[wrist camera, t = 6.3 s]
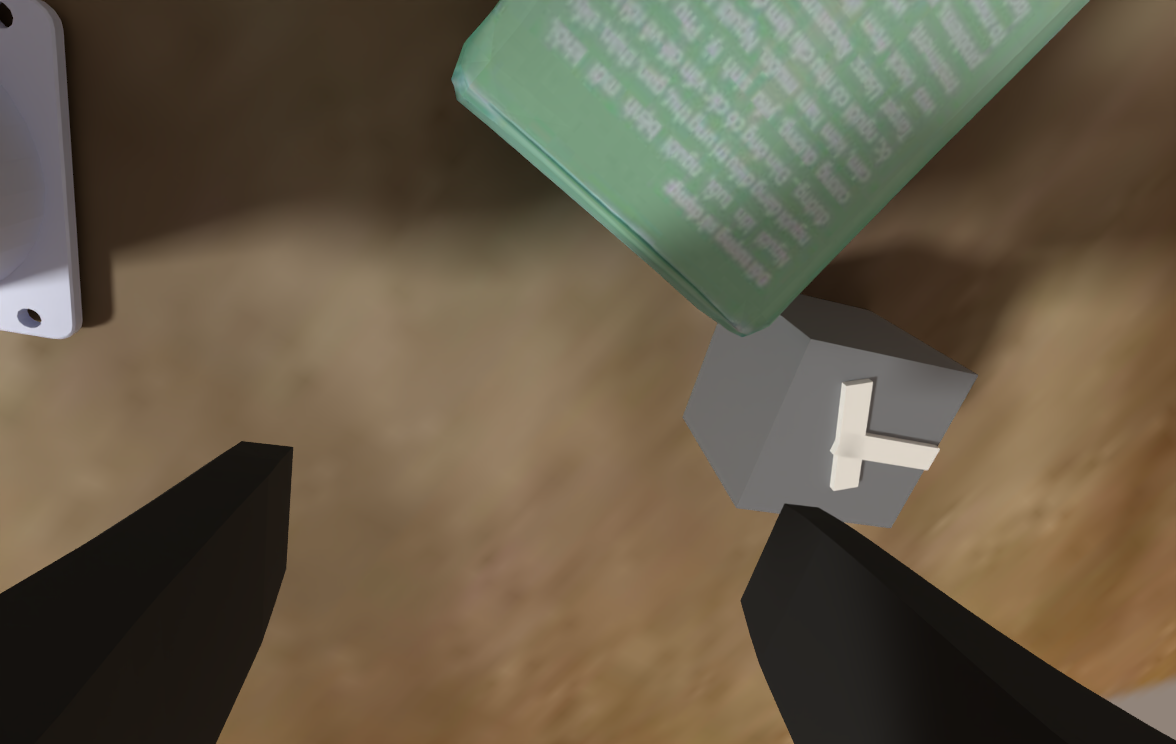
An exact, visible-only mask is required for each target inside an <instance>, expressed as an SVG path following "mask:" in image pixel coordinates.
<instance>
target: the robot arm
mask: <svg viewBox="0 0 1176 744" xmlns="http://www.w3.org/2000/svg"><path fill="white" fill-rule="evenodd" d="M1 3H4V4H5V5H6V6H7V7H8V8H9V9H10V10H11V13H12V16H13V22H12V25H11V26H10V27H6V26H5V25H4V24H3V23H2V22H1V21H0V330H2V331H9V332H15V333H21V334H27V335H34V336H40V337H46V338H52V339H64V338H67V337H70V336H72V335H73V334H75V333H76V332H78V330H79V329H80V328H81V327H82V321H83V320H82V304H81V289H80V274H79V259H78V243H77V228H76V213H75V198H74V182H73V167H72V152H71V137H70V121H69V106H68V91H67V76H66V60H65V45H64V30H63V26H62V22H61V19H60V18H59V16H58V15H57V13H56V12H55V10H54V9H53V8H51V7H50V6H49V5H48V4H47V3H46V2H44V1H42V0H0V4H1ZM28 309H31V310H34V311H35V312H36V313H38V314H39V315H40V318H41V320H42V321H41V322H38V321H35V320H33V319H32V318H31V317H30V316H29V314H28V311H27V310H28ZM292 459H293V447H288V446H279V445H271V444H262V443H253V442H244V441H241V442H240V443H238V444H237V445H235V446H234V447H232V448H231V449H229V450H227V451H226V452H224V453H223V454H221V455H220V456H218V457H217V458H215V459H214V460H212V461H211V462H209V463H208V464H206V465H205V466H203V467H202V468H200V469H199V470H197V471H196V472H194V473H193V474H191V475H190V476H188V477H187V478H185V479H184V480H182V481H181V482H179V483H178V484H176V485H175V486H173V487H172V488H170V489H169V490H167V491H166V492H164V493H163V494H161V495H160V496H158V497H157V498H155V499H154V500H152V501H151V502H149V503H148V504H146V505H145V506H143V507H142V508H140V509H139V510H137V511H135V512H134V513H132V514H131V515H129V516H128V517H126V518H125V519H123V520H121V521H120V522H118V523H117V524H115V525H114V526H112V527H111V528H109V529H107V530H106V531H104V532H103V533H101V534H100V535H98V536H96V537H95V538H93V539H92V540H90V541H89V542H87V543H85V544H84V545H82V546H81V547H79V548H77V549H75V550H74V551H72V552H70V553H69V554H67V555H65V556H64V557H62V558H60V559H58V560H57V561H55V562H53V563H52V564H50V565H48V566H47V567H45V568H43V569H41V570H40V571H38V572H36V573H35V574H33V575H31V576H30V577H28V578H26V579H25V580H23V581H21V582H19V583H18V584H16V585H14V586H13V587H11V588H9V589H8V590H6V591H4V592H2V593H1V594H0V744H216V742H217V740H218V737H219V735H220V733H221V731H222V729H223V727H224V724H225V722H226V720H227V718H228V716H229V714H230V712H231V709H232V707H233V705H234V703H235V701H236V698H237V696H238V694H239V692H240V690H241V687H242V685H243V683H244V681H245V679H246V677H247V674H248V672H249V670H250V668H251V666H252V663H253V661H254V659H255V657H256V654H257V652H258V650H259V648H260V646H261V643H262V641H263V638H264V635H265V632H266V629H267V626H268V623H269V620H270V617H271V614H272V611H273V608H274V605H275V602H276V599H277V595H278V592H279V589H280V586H281V583H282V580H283V577H284V574H285V571H286V562H287V544H288V527H289V510H290V493H291V476H292ZM741 604H742V608H743V611H744V615H745V618H746V622H747V626H748V629H749V633H750V636H751V639H752V643H753V646H754V649H755V652H756V655H757V658H758V661H759V664H760V667H761V669H762V671H763V674H764V676H765V679H766V681H767V683H768V685H769V688H770V690H771V692H772V695H773V697H774V699H775V701H776V704H777V706H778V708H779V711H780V713H781V715H782V717H783V720H784V722H785V724H786V726H787V728H788V731H789V733H790V735H791V737H792V740H793V742H794V744H1176V740H1174V739H1172V738H1170V737H1169V736H1167V735H1165V734H1163V733H1161V732H1160V731H1158V730H1156V729H1154V728H1153V727H1151V726H1149V725H1148V724H1146V723H1144V722H1142V721H1141V720H1139V719H1137V718H1136V717H1134V716H1132V715H1131V714H1129V713H1127V712H1126V711H1124V710H1122V709H1121V708H1119V707H1117V706H1116V705H1114V704H1112V703H1111V702H1109V701H1107V700H1106V699H1104V698H1102V697H1101V696H1099V695H1097V694H1096V693H1094V692H1092V691H1091V690H1089V689H1087V688H1086V687H1084V686H1082V685H1081V684H1079V683H1077V682H1076V681H1074V680H1073V679H1071V678H1069V677H1068V676H1066V675H1065V674H1063V673H1062V672H1060V671H1058V670H1057V669H1055V668H1054V667H1052V666H1051V665H1049V664H1047V663H1046V662H1044V661H1043V660H1041V659H1040V658H1038V657H1037V656H1035V655H1034V654H1032V653H1031V652H1029V651H1028V650H1026V649H1025V648H1023V647H1022V646H1020V645H1019V644H1017V643H1016V642H1014V641H1013V640H1011V639H1010V638H1008V637H1007V636H1005V635H1004V634H1002V633H1001V632H999V631H998V630H996V629H995V628H993V627H992V626H990V625H989V624H988V623H986V622H985V621H983V620H982V619H980V618H979V617H977V616H976V615H974V614H973V613H972V612H970V611H969V610H967V609H966V608H964V607H963V606H962V605H960V604H959V603H957V602H956V601H954V600H953V599H952V598H950V597H949V596H947V595H946V594H945V593H943V592H942V591H940V590H939V589H938V588H936V587H935V586H933V585H932V584H931V583H929V582H928V581H926V580H925V579H924V578H922V577H921V576H919V575H918V574H917V573H915V572H914V571H912V570H911V569H910V568H908V567H907V566H905V565H904V564H903V563H901V562H900V561H898V560H897V559H896V558H894V557H893V556H891V555H890V554H889V553H887V552H886V551H884V550H883V549H882V548H880V547H879V546H877V545H876V544H875V543H873V542H872V541H870V540H869V539H867V538H866V537H864V536H863V535H862V534H860V533H859V532H857V531H856V530H854V529H853V528H851V527H850V526H848V525H847V524H845V523H844V522H842V521H841V520H839V519H837V518H836V517H834V516H833V515H831V514H829V513H827V512H826V511H824V510H822V509H820V508H819V507H811V506H803V505H794V504H785V503H784V505H783V508H782V510H781V512H780V514H779V517H778V519H777V521H776V523H775V525H774V528H773V530H772V532H771V534H770V536H769V539H768V541H767V543H766V545H765V548H764V550H763V552H762V554H761V556H760V559H759V561H758V563H757V565H756V567H755V570H754V572H753V574H752V576H751V579H750V581H749V583H748V585H747V587H746V590H745V592H744V594H743V596H742V598H741Z"/></svg>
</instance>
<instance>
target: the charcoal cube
mask: <svg viewBox="0 0 1176 744" xmlns="http://www.w3.org/2000/svg"><path fill="white" fill-rule="evenodd" d="M977 377H978V375H977V374H976V373H974V372H972V371H971V370H969V369H967V368H966V367H964V366H962V365H961V364H959V363H957V362H956V361H954V360H952V359H950V358H949V357H947V356H945V355H944V354H942V353H940V352H939V351H937V350H935V349H934V348H932V347H930V346H929V345H927V344H925V343H924V342H922V341H920V340H919V339H917V338H915V337H914V336H912V335H910V334H908V333H907V332H905V331H903V330H902V329H900V328H898V327H897V326H895V325H893V324H892V323H890V322H888V321H887V320H885V319H883V318H882V317H880V316H878V315H877V314H875V313H873V312H871V311H870V310H866V309H861V308H857V307H853V306H849V305H844V304H840V303H836V302H832V301H827V300H823V299H819V298H815V297H810V296H806V295H802V294H799V295H798V296H797V297H796V298H795V299H794V300H793V301H792V302H791V303H790V304H789V306H788V307H787V308H786V309H785V310H784V311H783V312H782V313H781V314H780V315H779V316H778V317H777V319H776V320H775V321H774V322H773V323H772V324H771V325H770V326H769V327H767V328H764V329H762V330H760V331H757V332H755V333H753V334H751V335H748V336H745V337H740V336H738V335H736V334H734V333H732V332H730V331H728V330H727V329H725V328H724V327H723V326H721V325H720V324H719V323H718V324H717V326H716V329H715V332H714V334H713V337H712V340H711V342H710V345H709V348H708V350H707V353H706V356H705V358H704V361H703V364H702V367H701V369H700V372H699V375H698V377H697V380H696V383H695V385H694V388H693V391H692V393H691V396H690V399H689V401H688V404H687V407H686V409H685V412H684V415H683V419H684V420H685V422H686V424H687V425H688V427H689V429H690V430H691V432H692V434H693V436H694V437H695V439H696V441H697V442H698V444H699V446H700V447H701V449H702V451H703V452H704V454H705V456H706V458H707V459H708V461H709V463H710V464H711V466H712V468H713V469H714V471H715V473H716V474H717V476H718V478H719V480H720V481H721V483H722V485H723V486H724V488H725V490H726V491H727V493H728V495H729V496H730V498H731V500H732V502H733V503H734V505H735V507H736V508H740V509H748V510H756V511H763V512H771V513H779V514H780V512H781V510H782V508H783V505H784V503H785V504H794V505H803V506H811V507H819V508H820V509H822V510H824V511H826V512H827V513H829V514H831V515H833V516H834V517H836V518H837V519H839V520H841V521H842V522H847V523H855V524H863V525H870V526H878V527H886V528H891V527H892V525H893V523H894V522H895V520H896V518H897V516H898V515H899V513H900V511H901V509H902V508H903V506H904V504H905V502H906V501H907V499H908V497H909V495H910V494H911V492H912V490H913V488H914V487H915V485H916V483H917V481H918V480H919V478H920V476H921V474H922V473H923V471H924V470H928V469H929V467H930V466H931V464H932V462H933V460H934V459H935V457H936V455H937V453H938V452H939V450H940V448H939V447H937V446H938V445H939V443H940V441H941V440H942V438H943V436H944V434H945V433H946V431H947V429H948V427H949V426H950V424H951V422H952V420H953V419H954V417H955V415H956V413H957V412H958V410H959V408H960V406H961V405H962V403H963V401H964V399H965V398H966V396H967V394H968V392H969V391H970V389H971V387H972V385H973V384H974V382H975V380H976V378H977Z"/></svg>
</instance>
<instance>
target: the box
mask: <svg viewBox="0 0 1176 744" xmlns="http://www.w3.org/2000/svg"><path fill="white" fill-rule="evenodd" d="M1089 1H1090V0H499V2H498V3H497V4H496V6H495V7H494V9H493V10H492V11H491V12H490V14H489V15H488V16H487V17H486V18H485V19H484V21H483V22H482V23H481V24H480V25H479V27H478V28H477V29H476V30H475V31H474V32H473V33H472V34H471V36H470V37H469V38H468V39H467V40H466V42H465V43H464V45H463V47H462V50H461V53H460V56H459V59H458V62H457V64H456V67H455V70H454V73H453V76H452V78H451V80H452V83H453V85H454V88H455V94H456V99H457V101H459V102H460V103H461V104H462V105H463V106H465V107H466V108H467V109H468V110H469V111H471V112H472V113H473V114H474V115H475V116H477V117H478V118H479V119H480V120H482V121H483V122H484V123H485V124H486V125H487V126H489V127H490V128H491V129H492V130H493V131H495V132H496V133H497V134H498V135H499V136H500V137H502V138H503V139H504V140H505V141H506V142H507V143H509V144H510V145H511V146H512V147H513V148H514V149H516V150H517V151H518V152H519V153H520V154H521V155H523V156H524V157H525V158H526V159H527V160H528V161H529V162H531V163H532V164H533V165H534V166H535V167H536V168H538V169H539V170H540V171H541V172H542V173H543V174H545V175H546V176H547V177H548V178H549V179H550V180H551V181H553V182H554V183H555V184H556V185H557V186H558V187H560V188H561V189H562V190H563V191H564V192H565V193H566V194H568V195H569V196H570V197H571V198H572V199H573V200H575V201H576V202H577V203H578V204H579V205H580V206H581V207H583V208H584V209H585V210H586V211H587V212H588V213H590V214H591V215H592V216H593V217H594V218H595V219H596V220H598V221H599V222H600V223H601V224H602V225H603V226H605V227H606V228H607V229H608V230H609V231H610V232H611V233H613V234H614V235H615V236H616V237H617V238H618V239H620V240H621V241H622V242H623V243H624V244H625V245H626V246H628V247H629V248H630V249H631V250H632V251H633V252H635V253H636V254H637V255H638V256H639V257H640V258H641V259H643V260H644V261H645V262H646V263H647V264H648V265H650V266H651V267H652V268H653V269H654V270H655V271H656V272H657V273H659V274H660V275H661V276H662V277H663V278H664V279H665V280H666V281H667V282H669V283H670V284H671V285H672V286H673V287H674V288H675V289H676V290H677V291H679V292H680V293H681V294H682V295H683V296H684V297H685V298H686V299H687V300H689V301H690V302H691V303H692V304H693V305H694V306H695V307H697V308H698V309H699V310H700V311H702V312H703V313H705V314H706V315H708V316H709V317H710V318H712V319H713V320H715V321H716V322H717V323H719V324H720V325H721V326H723V327H724V328H725V329H727V330H728V331H730V332H732V333H734V334H736V335H738V336H740V337H745V336H748V335H751V334H753V333H755V332H757V331H760V330H762V329H764V328H767V327H769V326H770V325H771V324H772V323H773V322H774V321H775V320H776V319H777V317H778V316H779V315H780V314H781V313H782V312H783V311H784V310H785V309H786V308H787V307H788V306H789V304H790V303H791V302H792V301H793V300H794V299H795V298H796V297H797V296H798V295H799V294H800V293H801V292H802V291H803V290H804V289H805V288H806V287H807V286H808V285H809V284H810V283H811V282H812V280H813V279H814V278H815V277H816V276H817V275H818V274H819V273H820V272H821V271H822V270H823V269H824V268H825V267H826V266H827V265H828V264H829V263H830V262H831V261H832V260H833V259H834V258H835V257H836V256H837V255H838V254H839V253H840V252H841V251H842V250H843V249H844V248H845V246H846V245H847V244H848V243H849V242H850V241H851V240H852V239H853V238H854V237H855V236H856V235H857V234H858V233H859V232H860V231H861V230H862V229H863V228H864V227H865V226H866V225H867V224H868V223H869V222H870V221H871V220H872V219H873V218H874V217H875V216H876V215H877V214H878V213H879V212H880V211H881V210H882V209H883V208H884V207H885V206H886V205H887V204H888V202H889V201H890V200H891V199H892V198H893V197H894V196H895V195H896V194H897V193H898V192H899V191H900V190H901V189H902V188H903V187H904V186H905V185H906V184H907V183H908V182H909V181H910V180H911V179H912V178H913V177H914V176H915V175H916V174H917V173H918V172H919V171H920V170H921V169H922V168H923V167H924V166H925V165H926V164H927V163H928V162H929V161H930V160H931V159H932V158H933V157H934V156H935V155H936V154H937V153H938V152H939V151H940V150H941V149H942V148H943V147H944V146H945V145H946V144H947V143H948V142H949V141H950V140H951V139H952V138H953V137H954V136H955V135H956V134H957V133H958V132H959V131H960V130H961V129H962V128H963V127H964V126H965V125H966V124H967V123H968V122H969V121H970V120H971V119H972V118H973V117H974V116H975V115H976V114H977V113H978V112H979V111H980V110H981V109H982V108H983V107H984V106H985V105H986V104H987V103H988V102H989V101H990V100H991V99H992V98H993V97H994V96H995V95H996V94H997V93H998V92H999V91H1000V90H1001V89H1002V88H1003V87H1004V86H1005V85H1006V84H1007V83H1008V82H1009V81H1010V80H1011V79H1012V78H1013V77H1014V76H1015V75H1016V74H1017V73H1018V72H1019V71H1020V70H1021V69H1022V68H1023V67H1024V66H1025V65H1026V64H1027V63H1028V62H1029V61H1030V60H1031V59H1032V58H1033V57H1034V56H1035V55H1036V54H1037V53H1038V52H1039V51H1040V50H1041V49H1042V48H1043V47H1044V46H1045V45H1046V44H1047V43H1048V42H1049V41H1050V40H1051V39H1052V38H1053V37H1054V36H1055V35H1056V34H1057V33H1058V32H1059V31H1060V30H1061V29H1062V28H1063V27H1064V26H1065V25H1066V24H1067V23H1068V22H1069V21H1070V20H1071V19H1072V18H1073V17H1074V16H1075V15H1076V14H1077V13H1078V12H1079V11H1080V10H1081V9H1082V8H1083V7H1084V6H1085V5H1086V4H1087V3H1088V2H1089Z"/></svg>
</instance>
